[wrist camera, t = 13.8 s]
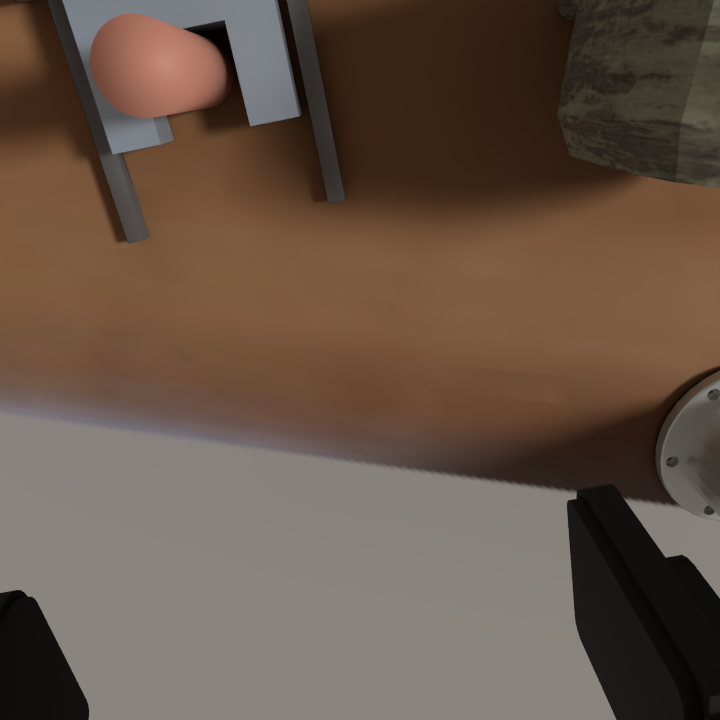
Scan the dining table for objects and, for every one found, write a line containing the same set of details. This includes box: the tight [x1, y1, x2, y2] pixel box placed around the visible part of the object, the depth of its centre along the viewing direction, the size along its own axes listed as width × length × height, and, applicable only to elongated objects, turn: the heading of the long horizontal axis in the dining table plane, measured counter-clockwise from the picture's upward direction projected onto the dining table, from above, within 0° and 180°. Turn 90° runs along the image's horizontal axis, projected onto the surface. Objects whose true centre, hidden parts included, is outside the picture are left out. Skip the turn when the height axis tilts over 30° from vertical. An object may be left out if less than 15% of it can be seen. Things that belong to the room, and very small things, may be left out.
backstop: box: [16, 0, 345, 243], centre depth 33 cm, size 16×14×5 cm
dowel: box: [90, 14, 234, 118], centre depth 30 cm, size 4×4×12 cm
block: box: [62, 0, 301, 154], centre depth 33 cm, size 10×8×3 cm
